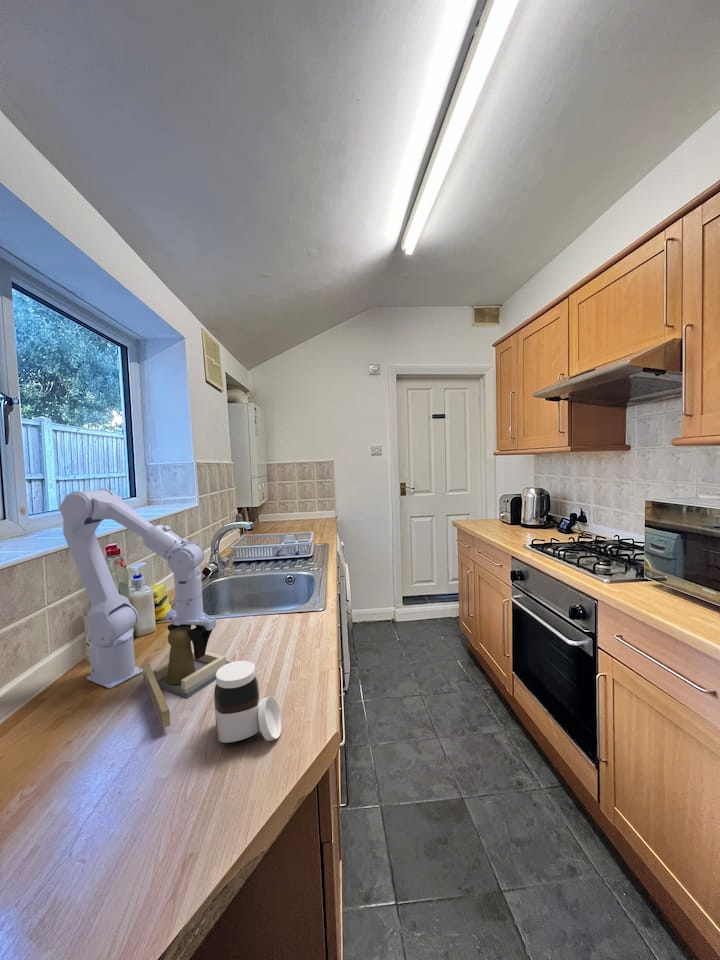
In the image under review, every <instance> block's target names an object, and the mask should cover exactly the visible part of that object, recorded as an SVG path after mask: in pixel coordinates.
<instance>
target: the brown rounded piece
mask: <svg viewBox="0 0 720 960" xmlns="http://www.w3.org/2000/svg"><path fill="white" fill-rule="evenodd" d="M192 629H193V628H192V627H191V628H189V627H178V628H175V629H173V630H171V631H169V632H168V635H167V641H168V642H167V643H168V644H169V645H170V649H169V658H168V663H169V664H168V673H167V682H168V683H169V684H181V680H182V679H184V678H185V677H187V676H189V675H191V674H192V673H194V672H195V666H194V660H193V654H192V650H193V648H192V640H191V637H190V635H189V634H188V631H190V630H192Z"/></svg>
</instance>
